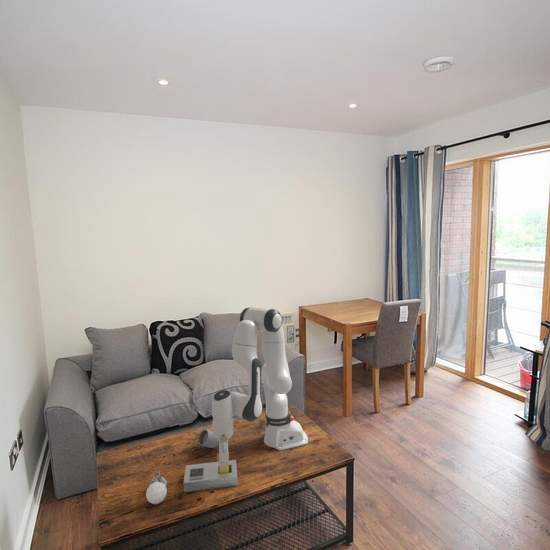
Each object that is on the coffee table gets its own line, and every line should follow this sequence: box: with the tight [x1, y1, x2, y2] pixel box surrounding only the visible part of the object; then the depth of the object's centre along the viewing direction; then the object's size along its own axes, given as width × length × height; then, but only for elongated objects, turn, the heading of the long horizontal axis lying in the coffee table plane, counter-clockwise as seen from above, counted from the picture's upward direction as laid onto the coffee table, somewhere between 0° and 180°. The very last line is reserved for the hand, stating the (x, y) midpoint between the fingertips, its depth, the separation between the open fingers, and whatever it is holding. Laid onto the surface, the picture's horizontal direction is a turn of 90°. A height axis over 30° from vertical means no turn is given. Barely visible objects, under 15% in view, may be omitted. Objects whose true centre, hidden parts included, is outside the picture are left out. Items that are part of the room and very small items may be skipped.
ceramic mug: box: [197, 428, 219, 449], centre depth 187 cm, size 11×8×8 cm
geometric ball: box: [145, 482, 168, 505], centre depth 149 cm, size 8×8×8 cm
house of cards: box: [148, 469, 168, 487], centre depth 156 cm, size 9×9×8 cm
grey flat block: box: [183, 459, 239, 493], centre depth 162 cm, size 22×12×4 cm, turn 99°
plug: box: [216, 452, 230, 474], centre depth 162 cm, size 5×4×9 cm
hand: (224, 460), depth 162 cm, fingers closed on plug, 4 cm apart
